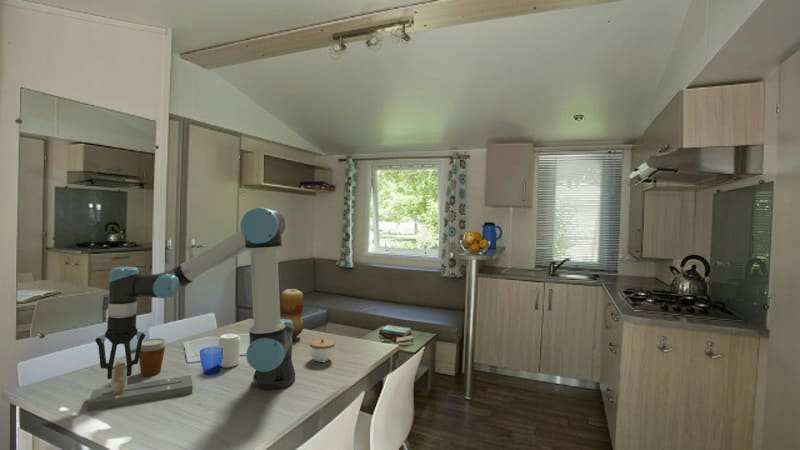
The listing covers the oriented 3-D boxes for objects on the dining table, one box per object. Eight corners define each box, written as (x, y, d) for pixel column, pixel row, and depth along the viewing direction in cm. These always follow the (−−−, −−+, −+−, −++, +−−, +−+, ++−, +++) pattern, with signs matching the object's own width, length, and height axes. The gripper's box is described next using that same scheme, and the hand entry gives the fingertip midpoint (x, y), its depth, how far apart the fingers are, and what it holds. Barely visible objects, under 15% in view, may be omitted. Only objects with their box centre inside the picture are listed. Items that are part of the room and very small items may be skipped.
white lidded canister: (213, 366, 153) (214, 336, 153) (229, 359, 161) (230, 331, 161) (228, 369, 150) (229, 339, 150) (243, 363, 158) (244, 334, 158)
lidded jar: (315, 366, 158) (316, 344, 158) (304, 358, 166) (305, 337, 166) (338, 361, 164) (339, 340, 164) (326, 354, 173) (327, 333, 173)
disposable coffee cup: (150, 379, 138) (152, 347, 138) (129, 376, 140) (130, 344, 140) (171, 370, 147) (172, 339, 147) (150, 367, 149) (152, 336, 149)
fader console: (190, 381, 138) (191, 374, 138) (192, 393, 129) (192, 385, 129) (92, 397, 123) (93, 389, 123) (87, 411, 114) (87, 402, 114)
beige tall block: (124, 388, 125) (125, 360, 125) (122, 393, 121) (124, 365, 121) (115, 389, 124) (116, 362, 124) (113, 394, 120) (114, 366, 120)
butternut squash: (288, 344, 184) (290, 293, 184) (269, 339, 191) (271, 289, 191) (308, 337, 196) (310, 289, 196) (290, 333, 202) (292, 286, 202)
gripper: (151, 310, 130) (148, 378, 130) (93, 314, 121) (90, 387, 121) (150, 315, 123) (147, 387, 123) (89, 320, 115) (86, 396, 115)
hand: (119, 387), depth 122 cm, fingers closed on beige tall block, 2 cm apart
